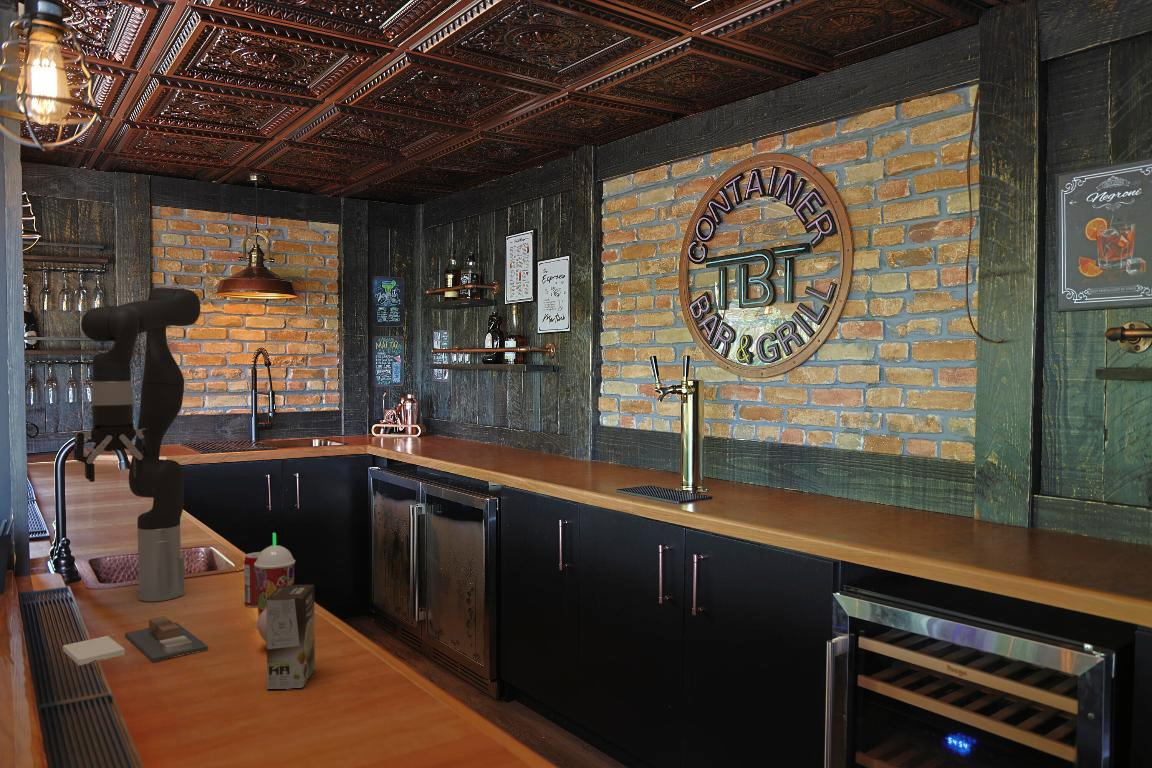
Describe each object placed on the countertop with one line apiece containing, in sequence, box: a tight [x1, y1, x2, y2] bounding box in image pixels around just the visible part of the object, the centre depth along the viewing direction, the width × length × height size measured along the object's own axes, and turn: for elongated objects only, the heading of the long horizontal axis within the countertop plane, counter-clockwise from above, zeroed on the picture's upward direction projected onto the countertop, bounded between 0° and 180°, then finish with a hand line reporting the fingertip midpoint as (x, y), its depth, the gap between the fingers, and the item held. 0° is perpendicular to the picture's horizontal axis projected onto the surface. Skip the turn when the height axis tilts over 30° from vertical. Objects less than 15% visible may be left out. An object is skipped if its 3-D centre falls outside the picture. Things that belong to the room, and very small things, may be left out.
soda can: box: [243, 551, 262, 608], centre depth 195 cm, size 6×6×12 cm
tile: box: [62, 635, 126, 666], centre depth 163 cm, size 8×2×11 cm
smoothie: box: [254, 532, 296, 619], centre depth 179 cm, size 8×8×20 cm
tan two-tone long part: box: [148, 615, 192, 653], centre depth 168 cm, size 15×5×3 cm, turn 42°
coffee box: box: [266, 584, 316, 690], centre depth 149 cm, size 9×6×16 cm
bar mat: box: [124, 622, 209, 664], centre depth 169 cm, size 10×20×1 cm, turn 42°
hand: (114, 479), depth 176 cm, fingers open, 8 cm apart
